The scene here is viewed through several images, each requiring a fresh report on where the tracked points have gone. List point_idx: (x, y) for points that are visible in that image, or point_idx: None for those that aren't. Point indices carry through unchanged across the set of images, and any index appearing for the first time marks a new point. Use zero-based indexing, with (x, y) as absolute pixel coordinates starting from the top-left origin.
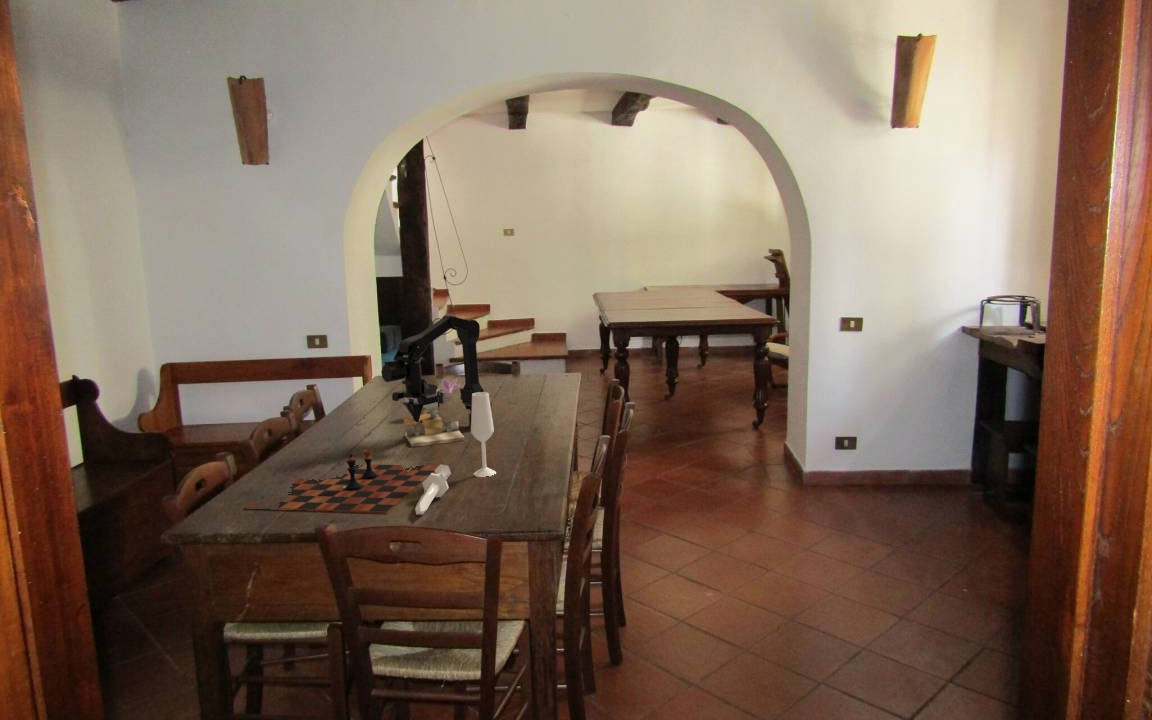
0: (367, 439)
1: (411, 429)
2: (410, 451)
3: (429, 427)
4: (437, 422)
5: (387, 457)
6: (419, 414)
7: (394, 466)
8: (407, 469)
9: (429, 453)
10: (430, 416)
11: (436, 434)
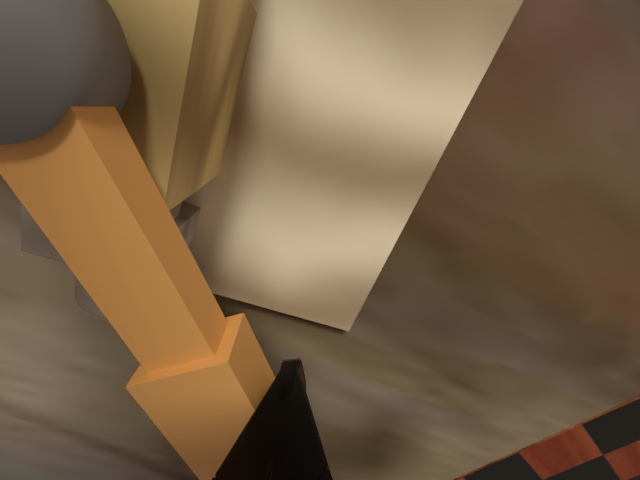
0: (22, 396)
1: None
2: (411, 350)
3: (204, 145)
4: (210, 35)
5: (404, 436)
6: (323, 451)
7: (534, 458)
8: (612, 446)
9: (531, 307)
10: (112, 117)
11: (254, 87)
